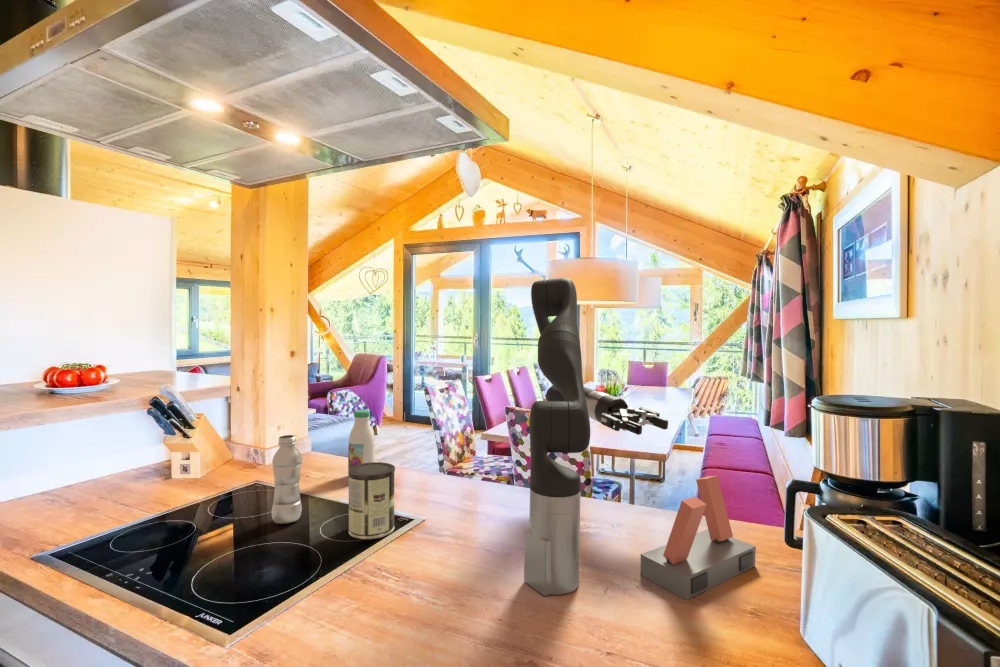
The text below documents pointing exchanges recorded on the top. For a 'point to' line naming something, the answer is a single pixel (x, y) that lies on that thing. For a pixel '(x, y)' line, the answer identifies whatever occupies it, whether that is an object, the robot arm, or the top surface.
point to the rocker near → (684, 530)
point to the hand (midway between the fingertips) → (654, 427)
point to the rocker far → (714, 508)
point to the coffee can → (371, 500)
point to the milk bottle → (361, 440)
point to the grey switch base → (699, 565)
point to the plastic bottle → (286, 481)
